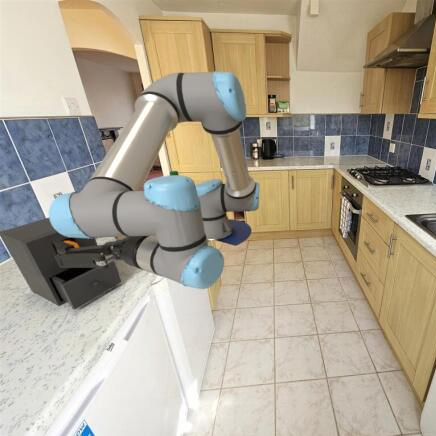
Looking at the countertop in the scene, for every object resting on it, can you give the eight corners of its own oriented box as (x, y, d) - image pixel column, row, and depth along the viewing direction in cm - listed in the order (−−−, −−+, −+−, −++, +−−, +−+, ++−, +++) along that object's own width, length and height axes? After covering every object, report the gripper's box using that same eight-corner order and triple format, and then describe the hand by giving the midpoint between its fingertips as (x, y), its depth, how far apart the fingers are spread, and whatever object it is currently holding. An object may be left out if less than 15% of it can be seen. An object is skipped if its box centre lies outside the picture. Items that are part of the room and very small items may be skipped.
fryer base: (110, 277, 77) (100, 251, 73) (59, 306, 66) (43, 277, 62) (83, 266, 83) (72, 242, 80) (31, 291, 72) (16, 263, 68)
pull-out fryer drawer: (124, 283, 73) (116, 261, 70) (77, 311, 63) (65, 287, 60) (94, 271, 79) (85, 250, 76) (46, 294, 69) (34, 272, 66)
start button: (81, 251, 68) (76, 239, 66) (64, 259, 64) (58, 246, 63) (76, 250, 69) (71, 237, 67) (59, 257, 65) (53, 244, 64)
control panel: (100, 251, 73) (88, 221, 70) (43, 277, 62) (25, 243, 58) (72, 242, 80) (60, 214, 76) (16, 263, 68) (-2, 232, 64)
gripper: (92, 307, 40) (29, 275, 48) (200, 241, 60) (143, 227, 68) (74, 269, 37) (11, 242, 45) (195, 213, 57) (135, 202, 65)
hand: (90, 233), depth 57 cm, fingers open, 12 cm apart
